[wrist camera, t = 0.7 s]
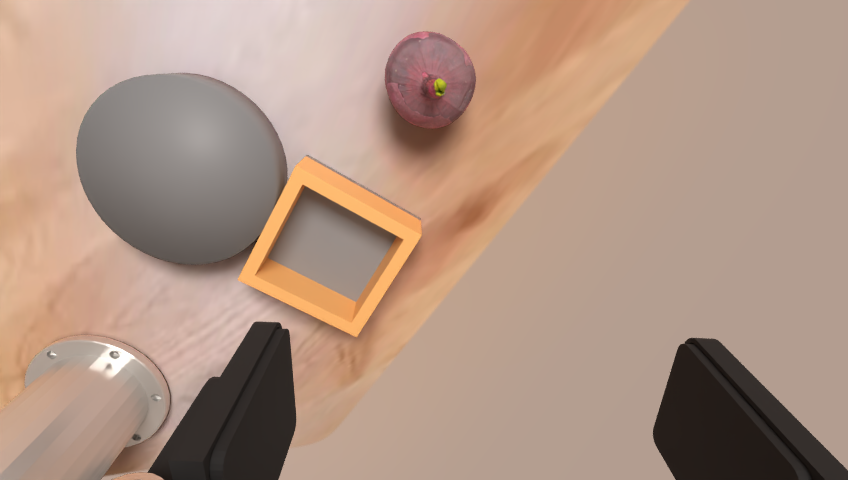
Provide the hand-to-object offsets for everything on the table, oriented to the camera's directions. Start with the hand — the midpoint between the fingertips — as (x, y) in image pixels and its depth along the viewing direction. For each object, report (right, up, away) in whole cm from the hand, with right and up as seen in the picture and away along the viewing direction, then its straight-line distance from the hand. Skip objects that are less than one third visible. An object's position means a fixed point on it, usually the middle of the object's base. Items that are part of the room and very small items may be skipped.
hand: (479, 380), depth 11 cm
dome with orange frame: (-15, +7, +27) cm, 31 cm away
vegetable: (-1, +16, +24) cm, 29 cm away
